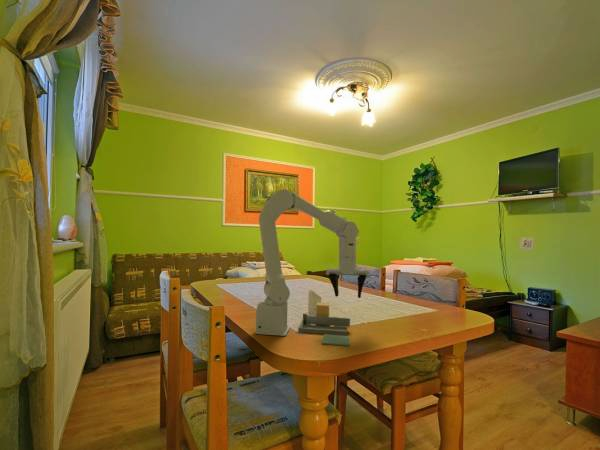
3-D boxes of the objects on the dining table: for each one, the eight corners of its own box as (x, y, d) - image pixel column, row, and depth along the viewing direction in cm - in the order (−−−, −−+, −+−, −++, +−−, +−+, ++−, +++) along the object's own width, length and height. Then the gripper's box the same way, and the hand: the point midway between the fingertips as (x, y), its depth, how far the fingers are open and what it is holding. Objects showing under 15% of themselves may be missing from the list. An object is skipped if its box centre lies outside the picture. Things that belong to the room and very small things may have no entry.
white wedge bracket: (301, 313, 103) (308, 290, 107) (314, 321, 110) (321, 299, 114) (309, 315, 101) (316, 291, 105) (322, 323, 108) (329, 301, 111)
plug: (314, 326, 96) (314, 305, 97) (316, 322, 101) (316, 301, 102) (330, 327, 95) (330, 306, 96) (330, 323, 101) (331, 302, 101)
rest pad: (321, 344, 81) (321, 342, 81) (323, 335, 88) (323, 334, 88) (349, 346, 80) (349, 344, 80) (349, 337, 87) (349, 336, 87)
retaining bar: (302, 323, 94) (302, 314, 94) (303, 322, 96) (303, 313, 96) (349, 327, 92) (350, 317, 92) (349, 325, 93) (349, 316, 93)
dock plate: (298, 331, 91) (298, 328, 91) (304, 319, 105) (304, 315, 105) (346, 335, 88) (346, 331, 88) (346, 321, 102) (346, 318, 102)
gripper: (370, 256, 101) (370, 295, 100) (329, 255, 105) (329, 292, 105) (368, 257, 94) (368, 300, 94) (324, 257, 99) (325, 297, 98)
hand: (348, 296), depth 99 cm, fingers open, 7 cm apart
